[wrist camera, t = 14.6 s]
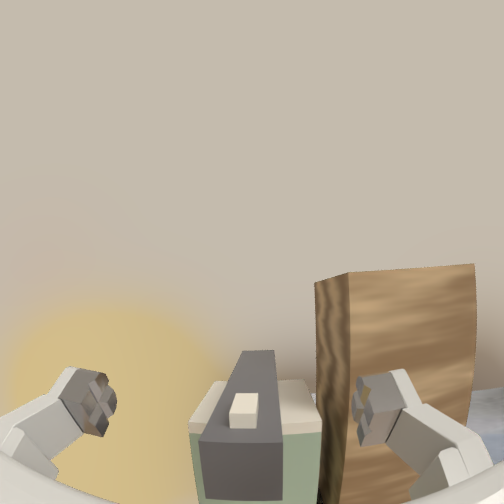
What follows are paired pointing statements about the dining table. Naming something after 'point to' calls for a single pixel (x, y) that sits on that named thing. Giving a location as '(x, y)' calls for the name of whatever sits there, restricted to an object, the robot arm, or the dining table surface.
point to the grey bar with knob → (245, 435)
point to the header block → (294, 442)
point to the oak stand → (389, 365)
